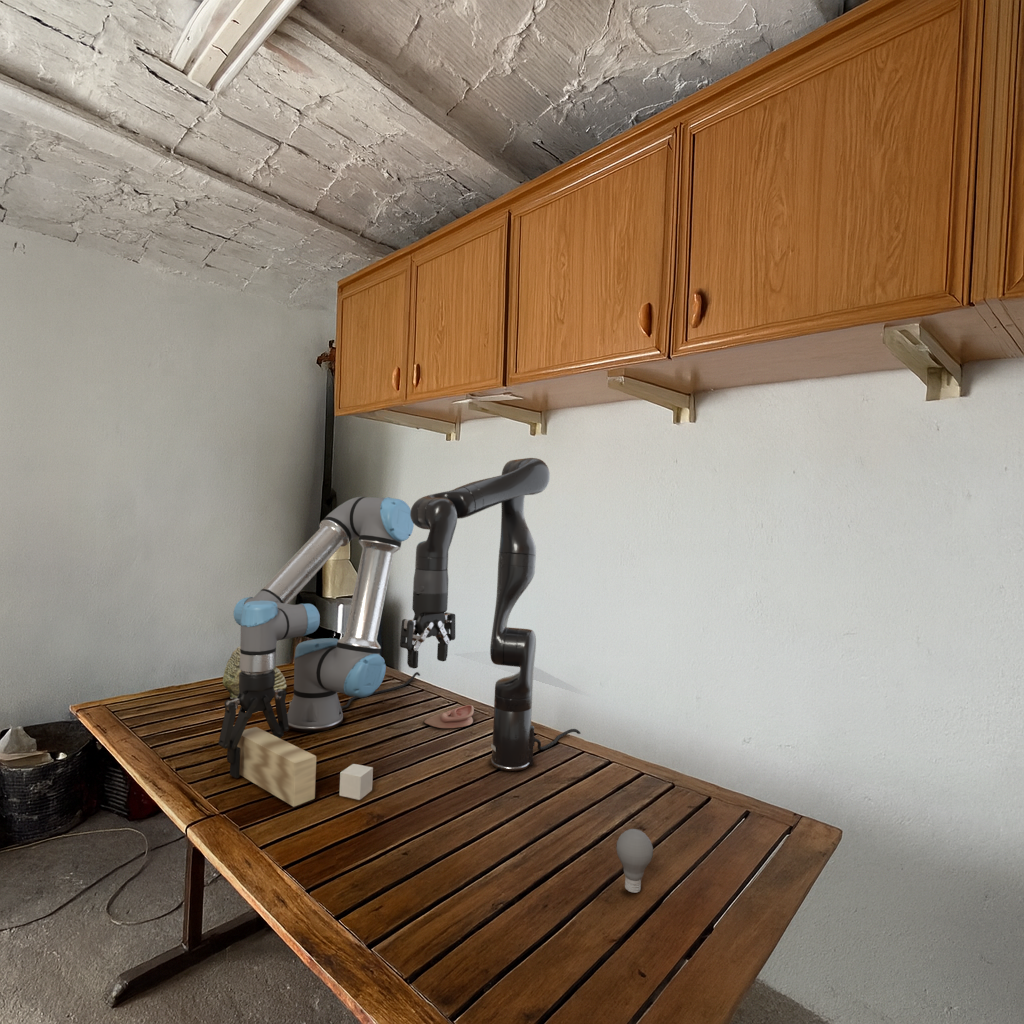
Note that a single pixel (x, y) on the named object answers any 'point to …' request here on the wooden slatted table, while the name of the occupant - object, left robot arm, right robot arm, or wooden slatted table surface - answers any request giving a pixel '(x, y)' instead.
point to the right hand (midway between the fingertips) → (427, 664)
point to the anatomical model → (452, 718)
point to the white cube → (356, 781)
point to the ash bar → (277, 766)
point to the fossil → (234, 669)
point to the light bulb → (634, 857)
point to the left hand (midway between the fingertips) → (253, 769)
